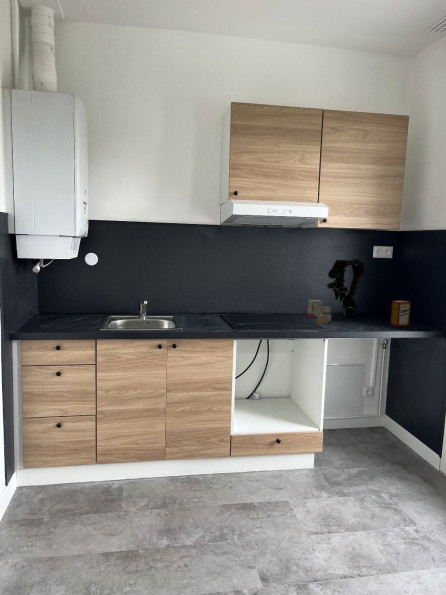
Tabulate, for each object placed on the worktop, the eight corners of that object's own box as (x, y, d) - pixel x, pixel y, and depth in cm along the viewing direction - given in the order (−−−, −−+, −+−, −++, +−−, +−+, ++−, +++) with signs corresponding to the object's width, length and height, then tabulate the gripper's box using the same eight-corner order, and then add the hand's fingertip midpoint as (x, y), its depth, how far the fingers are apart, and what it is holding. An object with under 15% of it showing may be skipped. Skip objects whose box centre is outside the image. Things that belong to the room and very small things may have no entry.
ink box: (310, 317, 317) (310, 300, 316) (307, 316, 322) (308, 299, 320) (321, 317, 319) (322, 300, 318) (318, 316, 324) (319, 299, 322)
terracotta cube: (323, 322, 300) (324, 314, 299) (327, 323, 295) (328, 315, 295) (316, 322, 298) (317, 314, 298) (320, 323, 293) (321, 315, 293)
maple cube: (330, 315, 305) (330, 307, 305) (323, 315, 305) (323, 307, 304) (327, 314, 310) (328, 306, 310) (320, 313, 310) (321, 306, 309)
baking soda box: (397, 326, 292) (399, 301, 290) (390, 324, 298) (392, 300, 297) (409, 325, 296) (410, 301, 294) (401, 323, 302) (403, 300, 300)
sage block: (329, 319, 311) (329, 314, 311) (330, 321, 304) (331, 315, 304) (318, 319, 312) (319, 313, 311) (320, 321, 305) (320, 315, 304)
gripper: (324, 276, 318) (323, 298, 320) (332, 278, 299) (331, 302, 301) (340, 277, 319) (338, 299, 320) (348, 279, 300) (347, 302, 302)
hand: (338, 300), depth 311 cm, fingers open, 9 cm apart
